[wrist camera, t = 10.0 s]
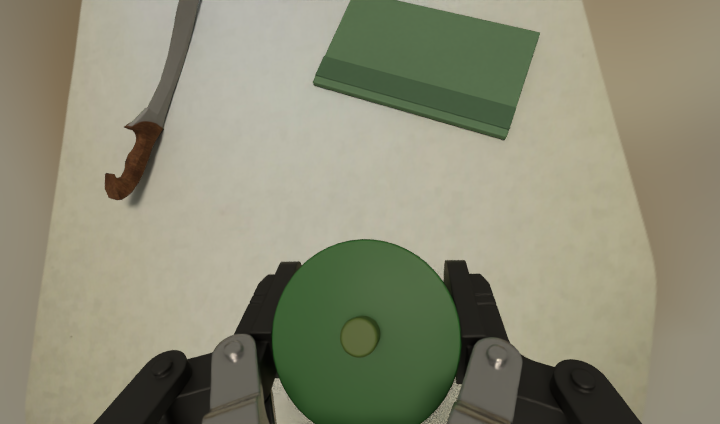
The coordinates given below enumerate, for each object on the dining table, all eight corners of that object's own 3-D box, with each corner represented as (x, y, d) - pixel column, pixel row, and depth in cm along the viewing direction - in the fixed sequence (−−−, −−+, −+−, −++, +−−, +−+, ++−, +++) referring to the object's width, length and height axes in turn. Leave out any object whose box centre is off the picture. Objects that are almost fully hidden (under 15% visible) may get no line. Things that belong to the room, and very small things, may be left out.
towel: (538, 36, 35) (540, 31, 34) (504, 140, 33) (506, 136, 32) (355, -5, 39) (354, -11, 38) (313, 85, 36) (312, 81, 36)
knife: (109, 196, 31) (193, -70, 37) (95, 194, 31) (181, -70, 38) (144, 207, 36) (214, -33, 42) (132, 206, 36) (204, -33, 42)
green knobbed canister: (451, 287, 17) (497, 273, 9) (414, 400, 16) (428, 507, 8) (348, 248, 18) (304, 204, 10) (307, 353, 17) (219, 401, 9)
